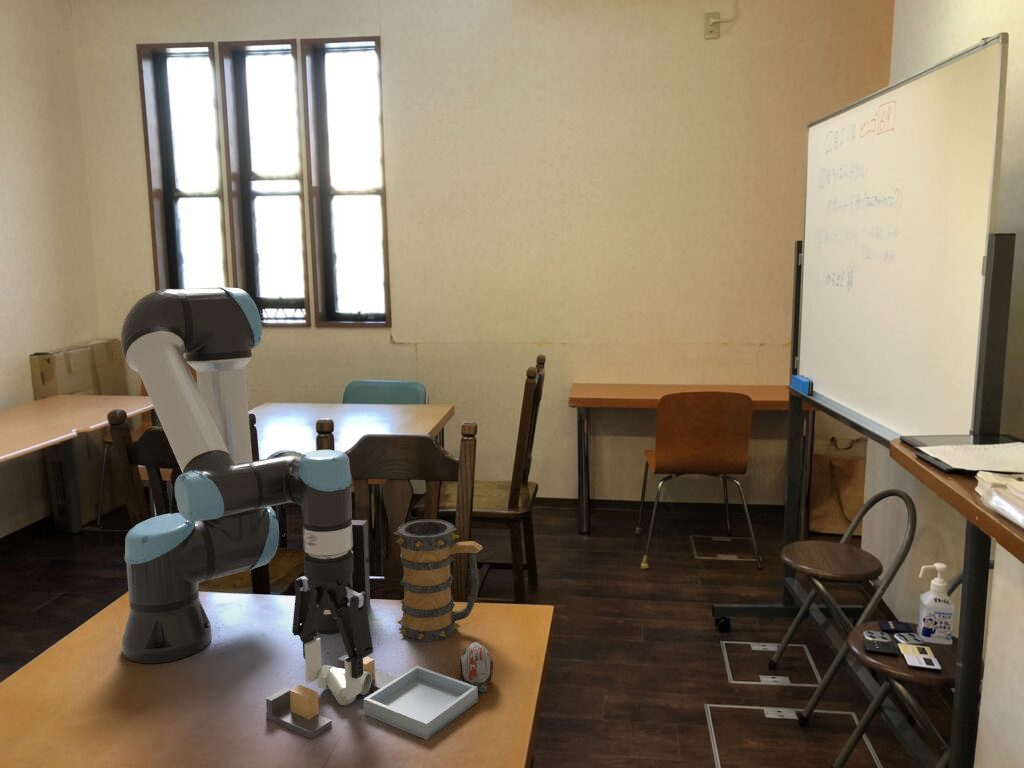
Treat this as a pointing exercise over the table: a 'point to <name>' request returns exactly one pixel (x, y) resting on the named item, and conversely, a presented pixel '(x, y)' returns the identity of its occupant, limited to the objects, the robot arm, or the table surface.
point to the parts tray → (421, 701)
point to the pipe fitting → (341, 683)
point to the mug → (432, 578)
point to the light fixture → (358, 576)
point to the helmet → (476, 665)
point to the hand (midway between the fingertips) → (333, 686)
